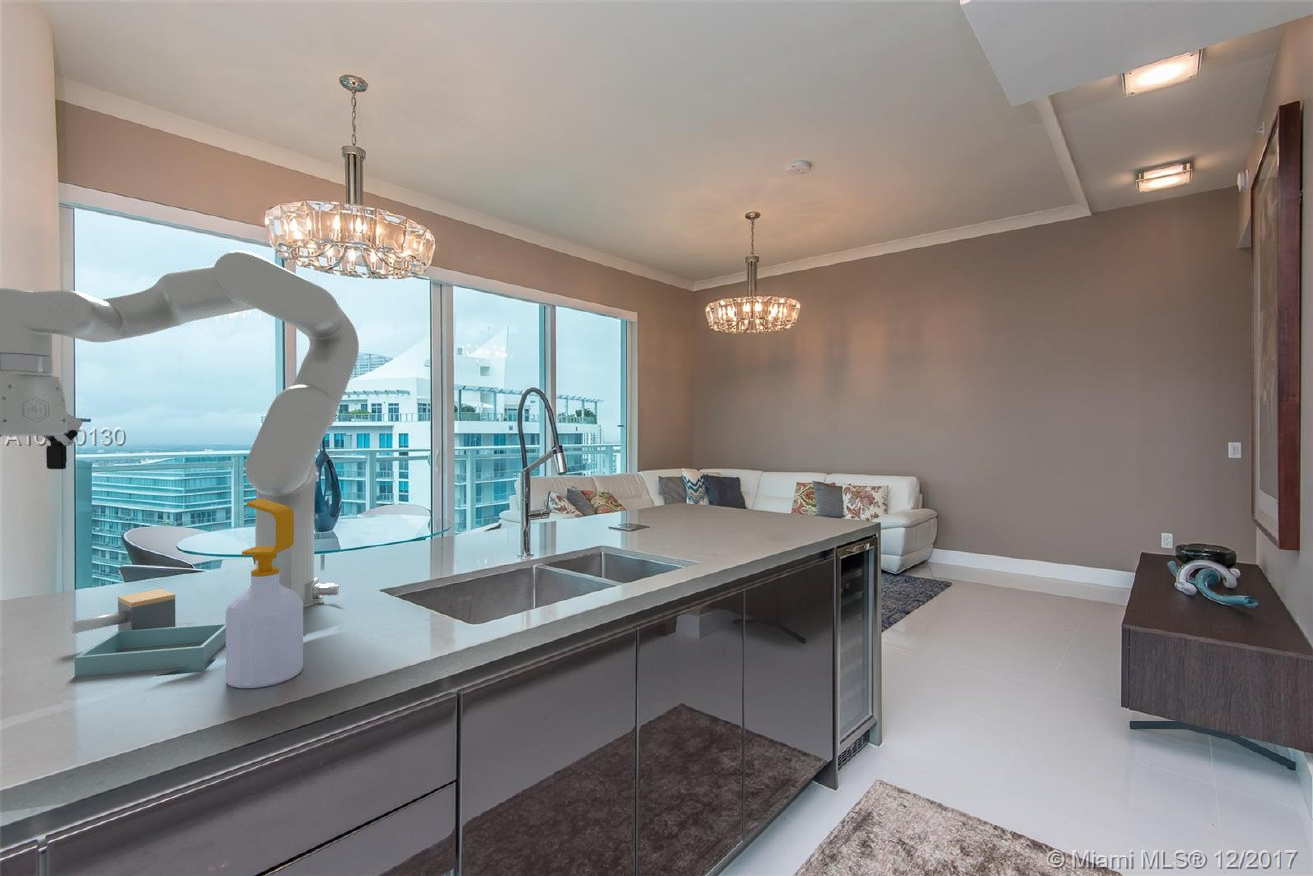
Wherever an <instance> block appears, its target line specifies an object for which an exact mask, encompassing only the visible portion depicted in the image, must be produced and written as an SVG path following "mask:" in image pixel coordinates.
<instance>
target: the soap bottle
mask: <svg viewBox="0 0 1313 876" xmlns="http://www.w3.org/2000/svg"><path fill="white" fill-rule="evenodd" d="M245 505H246V506H247V507H249V508H252V509H255V510H256V509H259V510H262V511H265V512H269V513H271V514H272V515H273V516H274V517H275V521H276V546H257V547H255V546H253V547H250V548H247V549H245V550H242V551H241V555H242V556H253V559H252V560H253V561H255V560H256V561H258V569H252V570H251V571H250V587H249V588H248V589H247V590H245V591H243V592H241V593H240V594H238V595H237V596H236V597H235V598H234V599H232V600H231V601H230V602H229V603H228V605H227V607H226V609H225V623H226V644H225V682H226V684H228V685H229V686H231V687H233V688H237V689H258V688H265V687H266V688H267V687H271V686H274V685H279V684H280V683H284V682H286V681H288V680H291V679H292V678H294V677H295V676H298V675H299V674H300V673H301V672H302V670H303V668H304V607H303V602H302V600H301V597H300V595H299V594H298V593H296V592H295V591H293V590H292V589H289V588H286V587H284V586H282V585H281V584H280V583H279V568H277V567H272V559H275V558H277V553H278V552H280V551H283V550H285V549H288V548H290V547H291V546H292V545H293V542H294V514H293V511H292V510H291V508H289V507H288V506H285V505H282V504H279V503H275V502H272V501H269V500H265V499H257V500H256V499H253V500H249V501H248V500H247V501H246V504H245Z"/></svg>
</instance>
